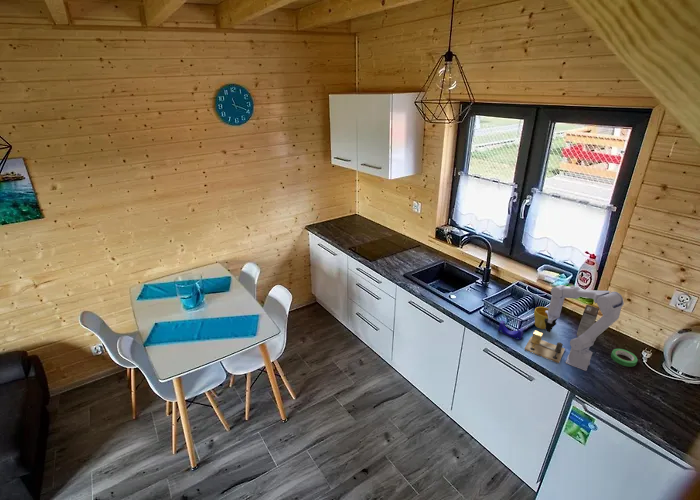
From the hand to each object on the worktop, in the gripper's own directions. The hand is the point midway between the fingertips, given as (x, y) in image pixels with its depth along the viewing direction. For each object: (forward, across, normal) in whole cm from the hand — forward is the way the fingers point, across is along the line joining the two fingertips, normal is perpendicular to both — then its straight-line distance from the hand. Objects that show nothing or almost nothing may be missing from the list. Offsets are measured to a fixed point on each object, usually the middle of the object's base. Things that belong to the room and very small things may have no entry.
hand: (549, 327), depth 211 cm
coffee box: (+10, -21, +15) cm, 28 cm away
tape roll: (+10, -10, +35) cm, 38 cm away
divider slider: (+8, +8, -4) cm, 12 cm away
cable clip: (+10, +5, -18) cm, 21 cm away
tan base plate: (+9, +8, +1) cm, 12 cm away
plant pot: (+10, -14, -6) cm, 18 cm away
